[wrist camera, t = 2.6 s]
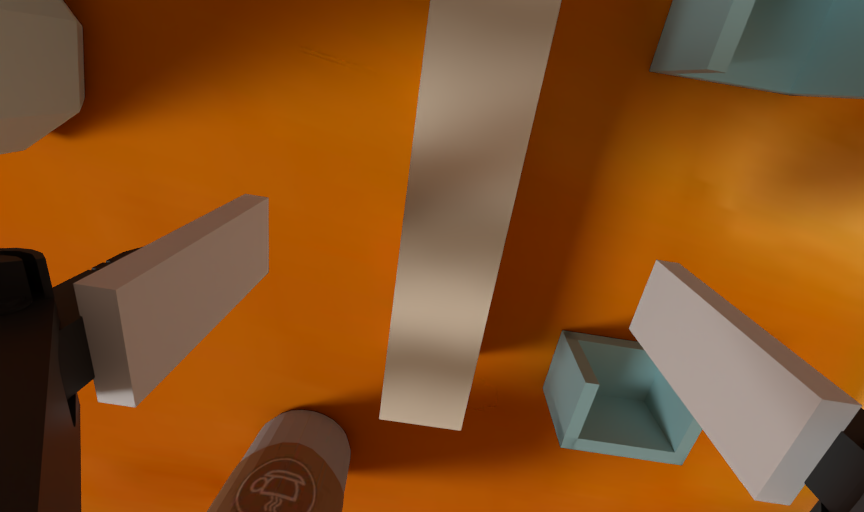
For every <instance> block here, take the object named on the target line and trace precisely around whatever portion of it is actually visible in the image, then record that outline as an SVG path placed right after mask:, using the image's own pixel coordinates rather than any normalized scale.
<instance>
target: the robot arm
mask: <svg viewBox="0 0 864 512" xmlns="http://www.w3.org/2000/svg"><path fill="white" fill-rule="evenodd" d="M268 272H269V229H268V197H261V196H255V195H249V194H244V195H242V196H240V197H238V198H237V199H235V200H233V201H231V202H229V203H227V204H225V205H223V206H221V207H219V208H217V209H215V210H213V211H212V212H210V213H208V214H206V215H204V216H202V217H200V218H198V219H196V220H194V221H192V222H190V223H188V224H186V225H185V226H183V227H181V228H179V229H177V230H175V231H173V232H171V233H169V234H167V235H165V236H163V237H161V238H160V239H158V240H156V241H154V242H152V243H150V244H148V245H146V246H144V247H140V248H137V249H133V250H129V251H126V252H123V253H121V254H119V255H117V256H115V257H113V258H111V259H109V260H107V261H106V263H101V264H99V265H97V266H95V267H93V268H92V270H87V271H85V272H83V273H81V274H79V275H77V276H75V277H73V278H71V279H69V280H67V281H65V282H63V283H61V284H59V285H57V286H55V287H53V288H52V285H51V280H50V276H49V272H48V268H47V264H46V259H45V257H44V255H43V253H41V252H38V251H35V250H32V249H22V248H0V512H81V448H80V403H79V399H78V395H77V392H78V391H79V390H80V389H81V388H83V387H84V386H85V385H86V384H88V383H89V382H90V381H91V380H92V379H93V380H94V384H95V389H96V394H97V398H98V402H103V403H109V404H116V405H123V406H129V407H136V406H137V405H138V404H139V403H140V402H141V401H142V400H143V399H144V398H145V397H146V396H147V395H148V394H149V393H150V392H151V391H152V390H153V389H154V388H155V387H156V386H157V385H158V384H159V383H160V382H161V381H162V380H163V379H164V378H165V377H166V376H167V375H168V374H169V373H170V372H171V371H172V370H173V369H174V368H175V367H176V366H177V365H178V364H179V363H180V362H181V361H182V360H183V359H184V358H185V357H186V356H187V355H188V354H189V353H190V352H191V351H192V350H193V349H194V347H195V346H196V345H197V344H198V343H199V342H200V341H201V340H202V339H203V338H204V337H205V336H206V335H207V334H208V333H209V332H210V331H211V330H212V329H213V328H214V327H215V326H216V325H217V324H218V323H219V322H220V321H221V320H222V319H223V318H224V317H225V316H226V315H227V314H228V313H229V312H230V311H231V310H232V309H233V308H234V307H235V306H236V305H237V304H238V303H239V302H240V301H241V300H242V299H243V298H244V297H245V296H246V295H247V294H248V293H249V292H250V291H251V290H252V289H253V288H254V287H255V286H256V285H257V284H258V283H259V282H260V281H261V280H262V279H263V277H264V276H265V275H266V274H267V273H268ZM629 330H630V331H631V332H632V334H633V335H634V336H635V338H636V339H637V341H638V342H639V343H640V345H641V346H642V347H643V349H644V350H645V351H646V353H647V354H648V356H649V357H650V358H651V360H652V361H653V362H654V364H655V365H656V366H657V368H658V369H659V371H660V372H661V373H662V375H663V376H664V377H665V379H666V380H667V381H668V383H669V384H670V386H671V387H672V388H673V390H674V391H675V392H676V394H677V395H678V396H679V398H680V399H681V401H682V402H683V403H684V405H685V406H686V407H687V409H688V410H689V411H690V413H691V414H692V416H693V417H694V418H695V420H696V421H697V422H698V424H699V425H700V426H701V428H702V429H703V430H704V432H705V433H706V435H707V436H708V437H709V439H710V440H711V441H712V443H713V444H714V445H715V447H716V448H717V450H718V451H719V452H720V454H721V455H722V456H723V458H724V459H725V460H726V462H727V463H728V465H729V466H730V467H731V469H732V470H733V471H734V473H735V474H736V475H737V477H738V478H739V480H740V481H741V482H742V484H743V485H744V486H745V488H746V489H747V490H748V492H749V493H750V495H751V496H752V497H753V499H754V500H757V501H764V502H770V503H777V504H784V505H790V504H791V503H792V502H793V500H794V499H795V497H796V496H797V495H798V493H799V492H800V491H801V489H802V488H803V486H804V485H805V484H806V486H807V487H808V488H809V489H810V490H811V491H812V492H813V493H814V495H815V496H816V497H817V498H818V499H819V501H818V502H817V503H816V504H815V506H814V507H813V508H812V510H811V511H810V512H864V410H863V409H862V408H861V407H862V405H861V404H859V403H858V402H857V401H856V400H854V399H853V398H852V397H850V396H849V395H848V394H846V393H845V392H844V391H843V390H841V389H840V388H839V387H837V386H836V385H835V384H834V383H832V382H831V381H830V380H828V379H827V378H826V377H825V376H823V375H822V374H821V373H819V372H818V371H817V370H816V369H814V368H813V367H812V366H810V365H809V364H808V363H807V362H805V361H804V360H803V359H801V358H800V357H799V356H798V355H796V354H795V353H794V352H792V351H791V350H790V349H788V348H787V347H786V346H785V345H783V344H782V343H781V342H779V341H778V340H777V339H776V338H774V337H773V336H772V335H770V334H769V333H768V332H767V331H765V330H764V329H763V328H761V327H760V326H759V325H758V324H756V323H755V322H754V321H752V320H751V319H750V318H749V317H747V316H746V315H745V314H743V313H742V312H741V311H740V310H738V309H737V308H736V307H734V306H733V305H732V304H730V303H729V302H728V301H727V300H725V299H724V298H723V297H721V296H720V295H719V294H718V293H716V292H715V291H714V290H712V289H711V288H710V287H709V286H707V285H706V284H705V283H703V282H702V281H701V280H700V279H698V278H697V277H696V276H694V275H693V274H692V273H691V272H689V271H688V270H687V269H685V268H684V267H683V266H682V265H680V264H679V263H674V262H667V261H661V260H656V262H655V265H654V267H653V270H652V272H651V275H650V277H649V280H648V282H647V285H646V287H645V290H644V292H643V295H642V297H641V300H640V302H639V305H638V307H637V310H636V312H635V315H634V317H633V320H632V322H631V325H630V327H629Z"/></svg>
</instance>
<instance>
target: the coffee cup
mask: <svg viewBox="0 0 864 512" xmlns="http://www.w3.org/2000/svg"><path fill="white" fill-rule="evenodd" d="M350 455H351V450H350V446H349V443H348V439H347V436H346V434H345V432H344V431H343V429H342V428H341V426H339V425H338V424H337V423H336V422H335V421H334V420H332V419H331V418H329V417H327V416H325V415H323V414H320V413H317V412H314V411H308V410H291V411H288V412H285V413H282V414H280V415H278V416H277V417H275V418H274V419H272V420H271V421H269V422H268V423H266V424H265V425H264V427H263V428H262V429H261V430H260V432H259V434H258V435H257V437H256V438H255V440H254V441H253V443H252V445H251V446H250V448H249V449H248V451H247V452H246V454H245V456H244V457H243V459H242V460H241V462H240V463H239V464H238V465H237V466H236V468H235V469H234V470H233V472H232V473H231V475H230V476H229V478H228V480H227V481H226V483H225V484H224V486H223V487H222V489H221V490H220V492H219V494H218V495H217V497H216V498H215V500H214V501H213V503H212V505H211V506H210V508H209V509H208V511H207V512H342V507H343V498H344V490H345V485H346V479H347V474H348V469H349V463H350Z"/></svg>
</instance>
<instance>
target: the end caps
mask: <svg viewBox="0 0 864 512" xmlns="http://www.w3.org/2000/svg"><path fill="white" fill-rule="evenodd" d="M649 72H655V73H661V74H667V75H673V76H679V77H685V78H691V79H697V80H703V81H708V82H714V83H720V84H726V85H732V86H738V87H744V88H750V89H756V90H762V91H768V92H773V93H779V94H785V95H792V96H812V97H832V98H853V99H864V0H673V1H672V4H671V7H670V10H669V13H668V16H667V19H666V22H665V25H664V28H663V31H662V34H661V37H660V40H659V43H658V46H657V49H656V52H655V55H654V58H653V61H652V64H651V67H650V70H649ZM543 391H544V394H545V398H546V401H547V404H548V408H549V411H550V414H551V418H552V421H553V424H554V428H555V431H556V434H557V438H558V441H559V444H560V447H561V448H567V449H574V450H581V451H588V452H595V453H602V454H609V455H615V456H622V457H629V458H636V459H643V460H650V461H656V462H663V463H670V464H677V465H682V464H683V462H684V461H685V459H686V457H687V455H688V454H689V452H690V450H691V448H692V446H693V445H694V443H695V441H696V439H697V438H698V436H699V434H700V432H701V431H702V428H701V426H700V425H699V424H698V422H697V421H696V420H695V418H694V417H693V416H692V414H691V413H690V411H689V410H688V409H687V407H686V406H685V405H684V403H683V402H682V401H681V399H680V398H679V396H678V395H677V394H676V392H675V391H674V390H673V388H672V387H671V386H670V384H669V383H668V381H667V380H666V379H665V377H664V376H663V375H662V373H661V372H660V371H659V369H658V368H657V366H656V365H655V364H654V362H653V361H652V360H651V358H650V357H649V356H648V354H647V353H646V351H645V350H644V349H643V347H642V346H641V345H640V343H639V342H636V341H629V340H623V339H616V338H610V337H603V336H596V335H590V334H583V333H577V332H570V331H564V330H562V332H561V335H560V338H559V341H558V344H557V347H556V350H555V353H554V356H553V359H552V362H551V365H550V368H549V371H548V374H547V377H546V380H545V383H544V386H543Z"/></svg>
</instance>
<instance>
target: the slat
mask: <svg viewBox="0 0 864 512" xmlns="http://www.w3.org/2000/svg"><path fill="white" fill-rule="evenodd" d="M561 1H562V0H430V7H429V15H428V23H427V31H426V39H425V48H424V56H423V64H422V72H421V80H420V88H419V97H418V105H417V113H416V121H415V129H414V137H413V146H412V154H411V162H410V170H409V178H408V186H407V195H406V203H405V211H404V219H403V227H402V235H401V244H400V252H399V260H398V268H397V276H396V284H395V293H394V301H393V309H392V317H391V325H390V334H389V342H388V350H387V358H386V366H385V374H384V383H383V391H382V399H381V407H380V415H379V419H381V420H388V421H395V422H402V423H409V424H416V425H424V426H431V427H438V428H445V429H452V430H459V431H461V428H462V424H463V420H464V415H465V411H466V407H467V403H468V398H469V394H470V390H471V385H472V381H473V377H474V373H475V368H476V364H477V360H478V356H479V351H480V347H481V343H482V338H483V334H484V330H485V326H486V321H487V317H488V313H489V309H490V304H491V300H492V296H493V291H494V287H495V283H496V279H497V274H498V270H499V266H500V262H501V257H502V253H503V249H504V245H505V240H506V236H507V232H508V227H509V223H510V219H511V215H512V210H513V206H514V202H515V198H516V193H517V189H518V185H519V180H520V176H521V172H522V168H523V163H524V159H525V155H526V151H527V146H528V142H529V138H530V133H531V129H532V125H533V121H534V116H535V112H536V108H537V104H538V99H539V95H540V91H541V86H542V82H543V78H544V74H545V69H546V65H547V61H548V57H549V52H550V48H551V44H552V40H553V35H554V31H555V27H556V22H557V18H558V14H559V10H560V5H561Z"/></svg>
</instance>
